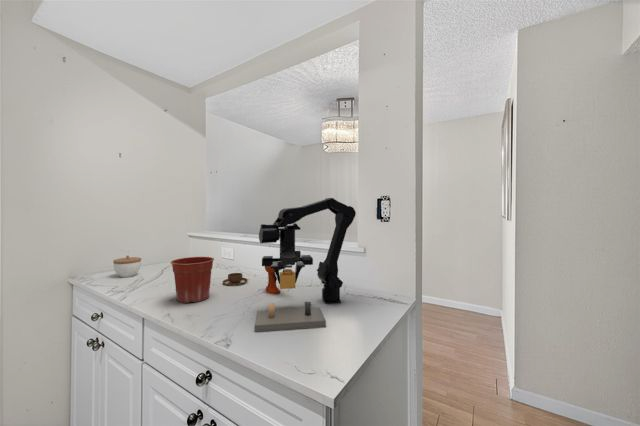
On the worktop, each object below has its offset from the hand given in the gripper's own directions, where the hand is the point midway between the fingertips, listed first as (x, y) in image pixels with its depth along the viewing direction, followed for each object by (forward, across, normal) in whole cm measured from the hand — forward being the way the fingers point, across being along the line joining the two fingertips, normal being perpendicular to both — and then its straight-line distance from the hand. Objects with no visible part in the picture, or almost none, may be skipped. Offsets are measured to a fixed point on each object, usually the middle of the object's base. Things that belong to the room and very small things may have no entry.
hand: (287, 283), depth 105 cm
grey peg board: (+9, 0, -13) cm, 16 cm away
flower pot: (+10, -38, +17) cm, 43 cm away
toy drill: (+10, -3, +17) cm, 20 cm away
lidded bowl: (+10, -84, +63) cm, 105 cm away
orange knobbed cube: (+1, 0, 0) cm, 1 cm away
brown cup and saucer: (+10, -27, +41) cm, 50 cm away
